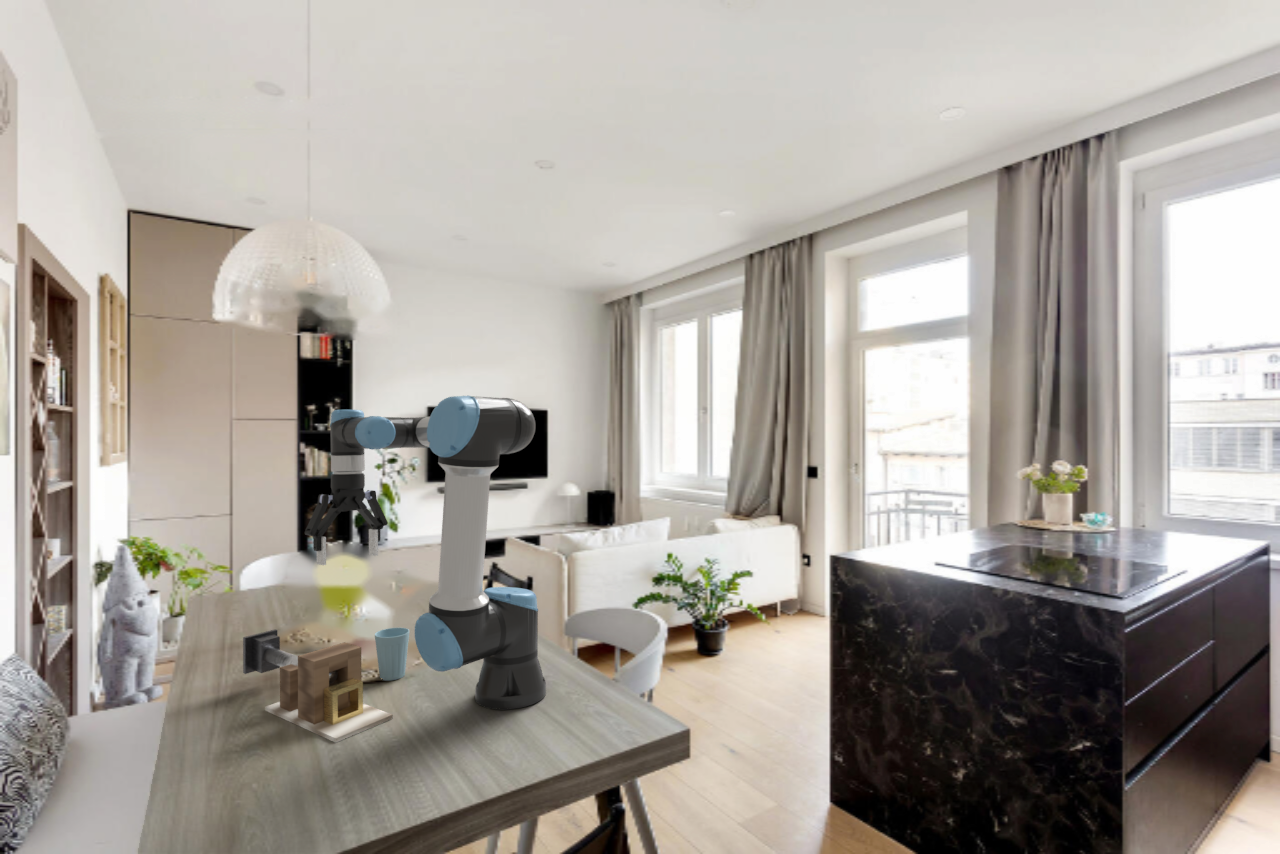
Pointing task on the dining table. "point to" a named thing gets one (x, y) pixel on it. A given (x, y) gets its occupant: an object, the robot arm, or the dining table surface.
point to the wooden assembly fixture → (307, 692)
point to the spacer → (331, 701)
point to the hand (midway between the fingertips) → (348, 559)
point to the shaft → (268, 654)
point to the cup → (392, 652)
